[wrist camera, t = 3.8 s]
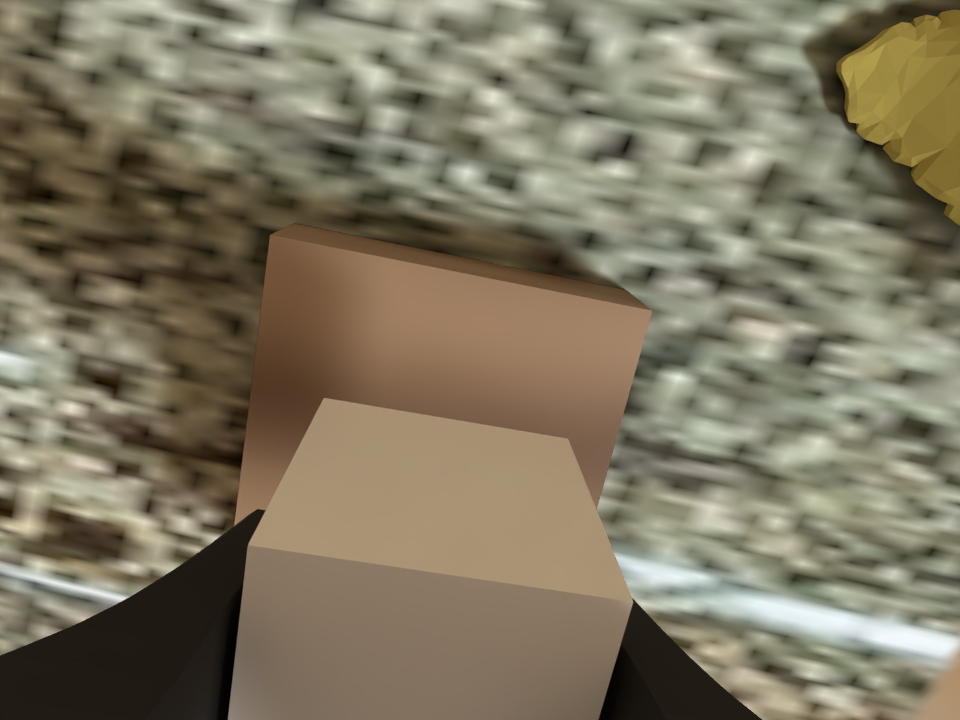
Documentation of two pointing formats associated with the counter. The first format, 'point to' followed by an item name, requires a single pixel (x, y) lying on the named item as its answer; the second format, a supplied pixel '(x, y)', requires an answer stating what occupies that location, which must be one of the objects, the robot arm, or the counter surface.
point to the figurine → (912, 100)
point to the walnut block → (433, 348)
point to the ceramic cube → (427, 578)
